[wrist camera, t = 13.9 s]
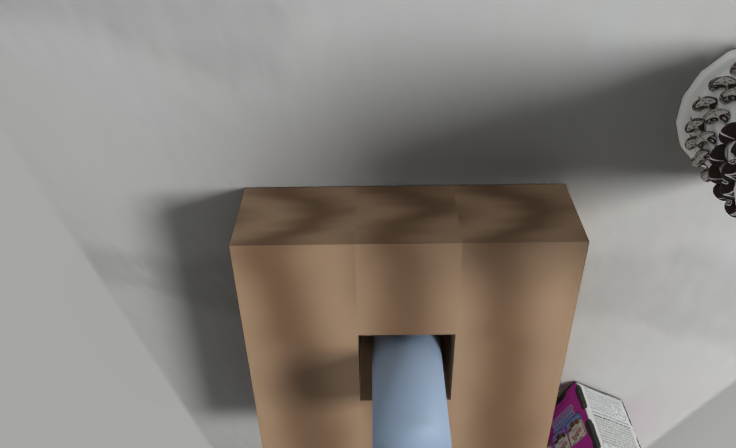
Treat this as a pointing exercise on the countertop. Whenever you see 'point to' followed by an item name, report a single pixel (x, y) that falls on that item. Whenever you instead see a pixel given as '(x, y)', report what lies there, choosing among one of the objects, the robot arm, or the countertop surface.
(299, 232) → the socket block
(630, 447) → the candy bar box
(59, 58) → the countertop surface
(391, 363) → the peg
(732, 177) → the decorative candle
